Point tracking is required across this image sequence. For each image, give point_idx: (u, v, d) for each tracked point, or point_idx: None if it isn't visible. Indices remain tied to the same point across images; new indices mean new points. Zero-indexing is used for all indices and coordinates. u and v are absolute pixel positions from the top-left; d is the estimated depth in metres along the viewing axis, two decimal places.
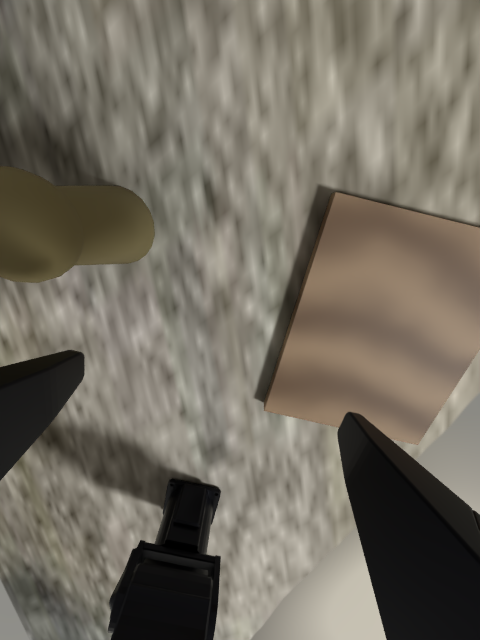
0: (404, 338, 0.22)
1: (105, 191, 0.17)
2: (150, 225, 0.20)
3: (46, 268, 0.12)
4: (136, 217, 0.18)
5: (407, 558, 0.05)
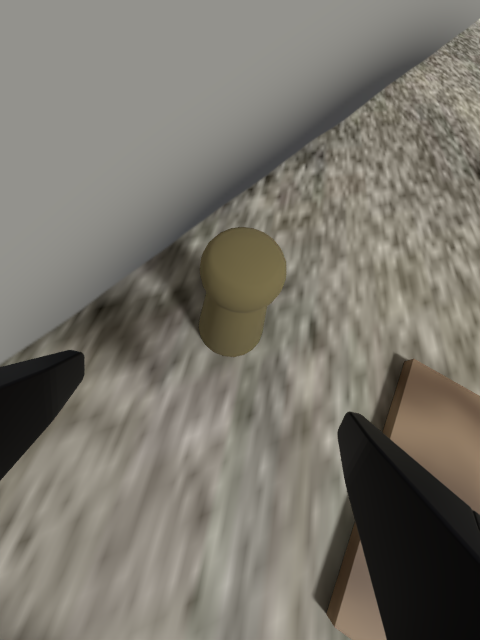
0: None
1: None
2: (261, 333, 0.23)
3: (262, 294, 0.14)
4: None
5: (407, 558, 0.05)
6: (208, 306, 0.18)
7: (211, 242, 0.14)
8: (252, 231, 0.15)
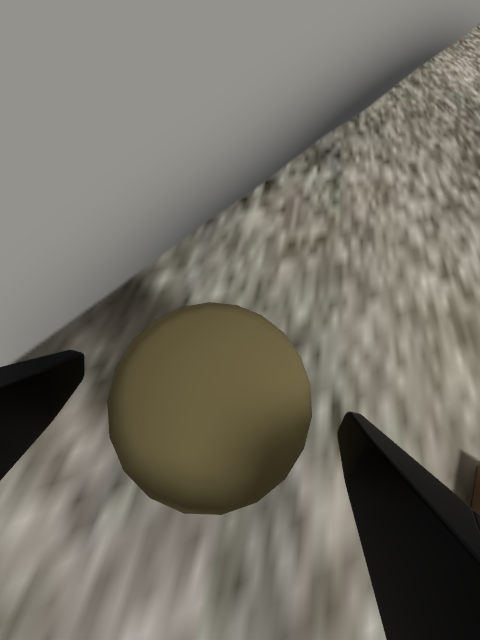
0: None
1: None
2: None
3: (256, 497, 0.05)
4: None
5: (407, 558, 0.05)
6: None
7: (132, 349, 0.06)
8: (232, 317, 0.06)
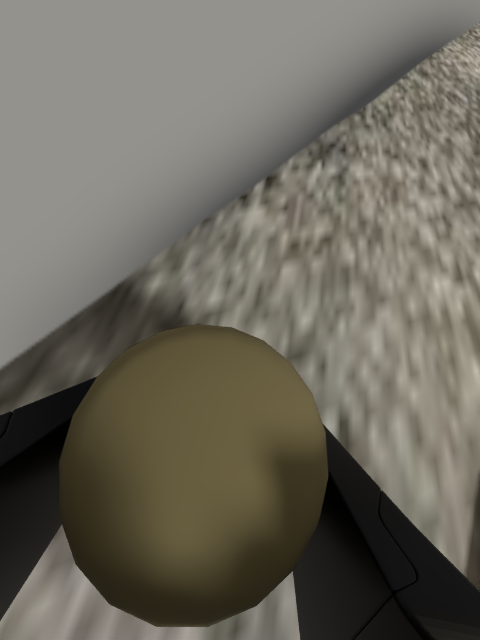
0: None
1: None
2: None
3: (255, 603, 0.04)
4: None
5: (317, 539, 0.05)
6: None
7: (92, 392, 0.04)
8: (224, 347, 0.05)
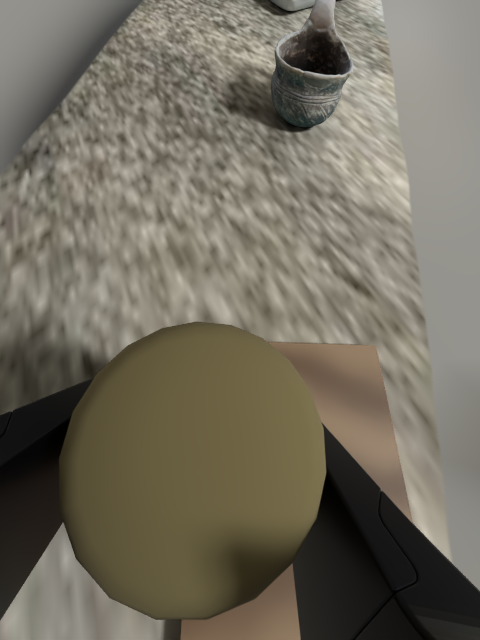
0: None
1: None
2: None
3: (254, 596, 0.04)
4: None
5: (317, 539, 0.05)
6: None
7: (92, 389, 0.05)
8: (223, 345, 0.05)
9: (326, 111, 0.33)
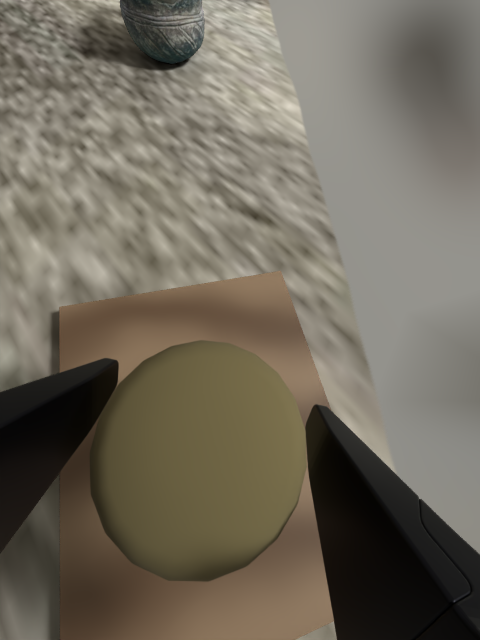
0: None
1: None
2: None
3: (246, 563, 0.05)
4: None
5: (354, 547, 0.05)
6: None
7: (116, 397, 0.06)
8: (222, 361, 0.06)
9: (191, 36, 0.29)
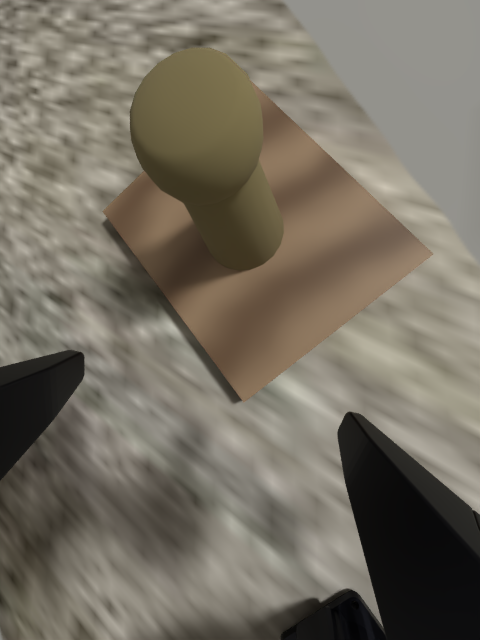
0: None
1: None
2: (282, 219, 0.18)
3: (234, 145, 0.09)
4: None
5: (407, 558, 0.05)
6: (194, 218, 0.14)
7: (130, 117, 0.09)
8: (172, 56, 0.09)
9: None
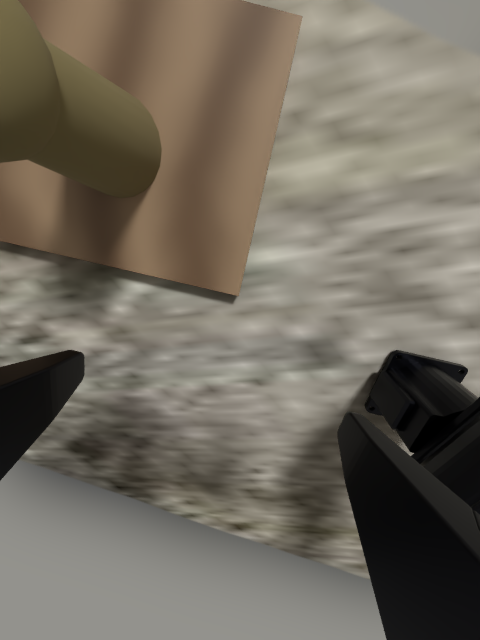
0: None
1: None
2: (137, 101, 0.15)
3: (1, 44, 0.07)
4: (111, 82, 0.13)
5: (407, 558, 0.05)
6: (55, 168, 0.12)
7: None
8: None
9: None
